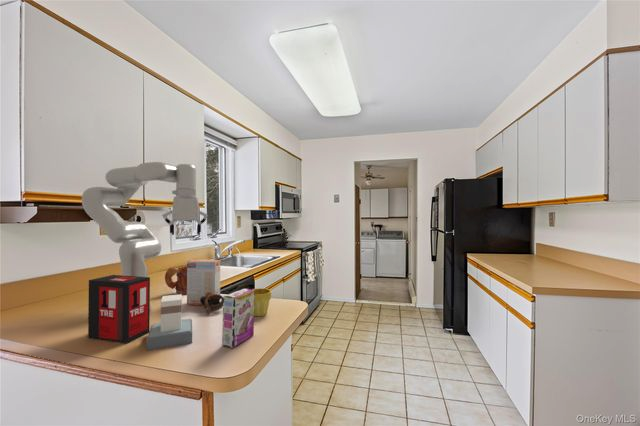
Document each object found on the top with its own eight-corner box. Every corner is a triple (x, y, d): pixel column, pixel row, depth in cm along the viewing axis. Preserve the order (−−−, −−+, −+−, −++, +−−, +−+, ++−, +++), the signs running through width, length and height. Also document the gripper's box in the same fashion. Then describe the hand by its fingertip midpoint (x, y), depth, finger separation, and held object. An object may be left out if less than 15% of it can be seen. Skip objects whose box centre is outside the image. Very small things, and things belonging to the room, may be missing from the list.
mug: (188, 290, 159) (188, 263, 159) (196, 292, 154) (196, 265, 154) (161, 296, 147) (161, 267, 147) (169, 299, 142) (169, 269, 142)
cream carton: (160, 332, 93) (160, 301, 93) (162, 324, 100) (162, 296, 100) (181, 329, 96) (181, 299, 96) (181, 321, 102) (181, 294, 102)
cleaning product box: (88, 338, 97) (88, 280, 98) (112, 328, 106) (112, 274, 106) (127, 343, 94) (128, 283, 94) (149, 332, 102) (149, 277, 102)
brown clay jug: (229, 308, 131) (229, 295, 127) (217, 323, 123) (217, 310, 119) (205, 300, 133) (205, 287, 129) (192, 315, 125) (192, 302, 121)
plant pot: (246, 319, 116) (246, 295, 116) (246, 310, 126) (247, 288, 126) (271, 317, 119) (271, 293, 119) (270, 309, 129) (270, 287, 129)
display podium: (146, 350, 89) (147, 337, 89) (151, 334, 101) (151, 323, 101) (192, 342, 95) (192, 330, 95) (191, 328, 106) (191, 317, 106)
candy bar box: (234, 349, 90) (234, 297, 91) (221, 346, 92) (222, 295, 92) (254, 335, 101) (255, 289, 101) (243, 333, 103) (243, 287, 103)
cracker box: (220, 302, 138) (221, 259, 138) (214, 306, 132) (215, 261, 132) (193, 301, 139) (193, 258, 139) (186, 305, 133) (186, 260, 133)
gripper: (161, 192, 113) (161, 235, 112) (208, 194, 120) (208, 234, 120) (163, 193, 119) (163, 234, 119) (207, 195, 127) (207, 233, 127)
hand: (185, 234), depth 119 cm, fingers open, 9 cm apart
